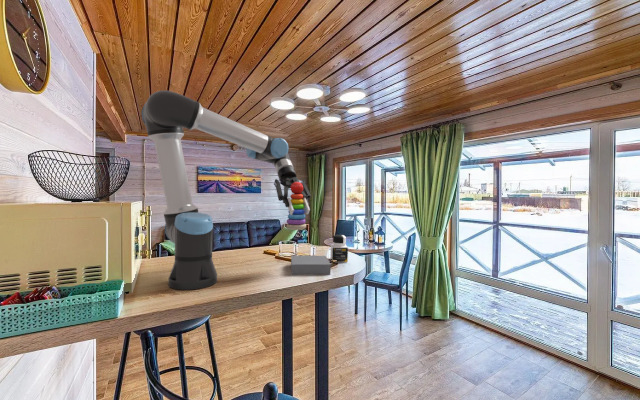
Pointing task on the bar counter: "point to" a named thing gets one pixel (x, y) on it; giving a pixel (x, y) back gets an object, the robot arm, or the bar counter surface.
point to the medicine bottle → (339, 249)
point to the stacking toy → (296, 208)
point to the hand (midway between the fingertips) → (300, 212)
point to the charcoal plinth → (310, 265)
